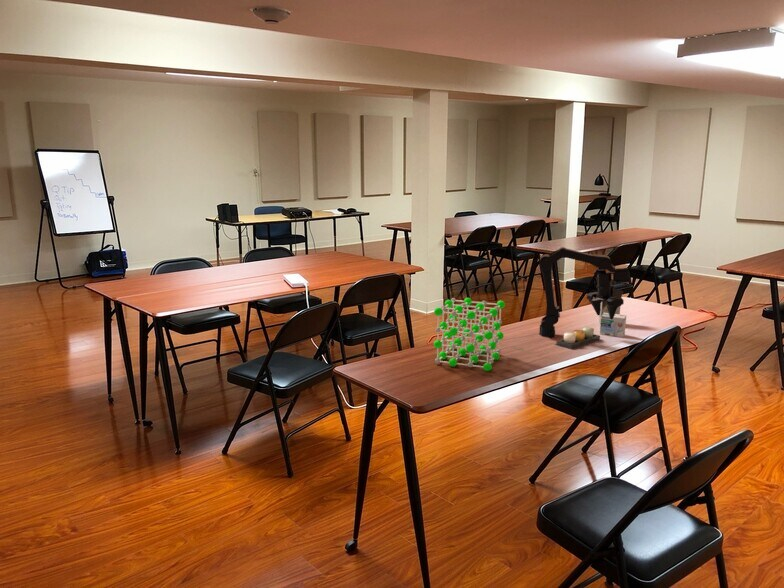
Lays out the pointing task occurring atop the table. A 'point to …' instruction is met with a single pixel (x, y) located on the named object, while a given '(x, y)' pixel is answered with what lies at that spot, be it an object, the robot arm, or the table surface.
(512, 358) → the table surface
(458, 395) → the table surface
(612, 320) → the light bulb box
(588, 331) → the sage button
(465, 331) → the molecular structure model
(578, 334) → the amber button
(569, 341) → the ivory button
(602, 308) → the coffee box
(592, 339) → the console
